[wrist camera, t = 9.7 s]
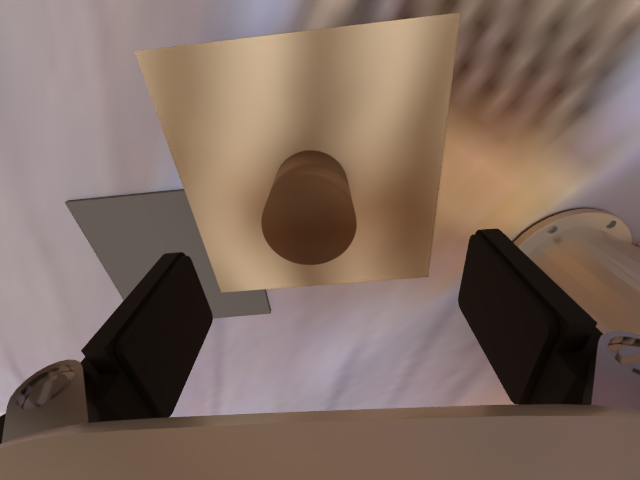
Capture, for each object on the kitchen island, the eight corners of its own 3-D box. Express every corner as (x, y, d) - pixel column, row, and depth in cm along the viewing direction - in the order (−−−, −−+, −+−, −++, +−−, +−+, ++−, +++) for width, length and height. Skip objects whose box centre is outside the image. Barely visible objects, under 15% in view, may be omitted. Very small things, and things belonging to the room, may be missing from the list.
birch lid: (452, 15, 13) (524, -9, 8) (424, 269, 20) (454, 329, 16) (143, 51, 14) (56, 47, 9) (224, 284, 21) (198, 347, 16)
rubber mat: (238, 183, 27) (237, 185, 26) (270, 310, 35) (270, 313, 35) (67, 200, 27) (64, 202, 27) (139, 321, 36) (138, 324, 35)
